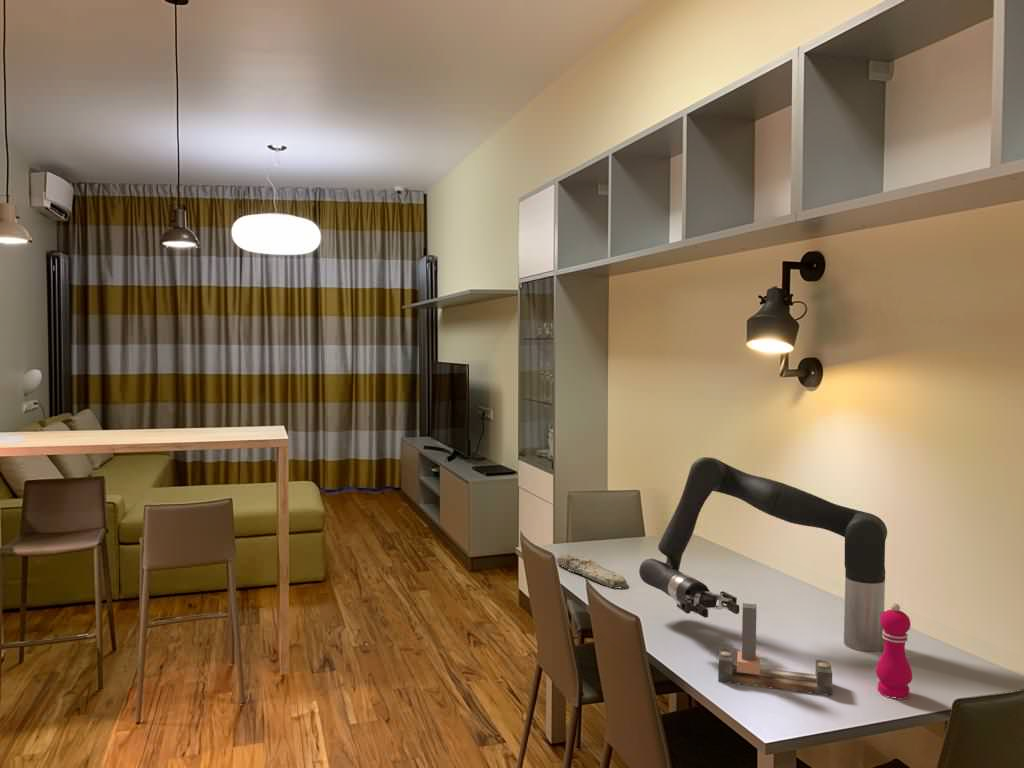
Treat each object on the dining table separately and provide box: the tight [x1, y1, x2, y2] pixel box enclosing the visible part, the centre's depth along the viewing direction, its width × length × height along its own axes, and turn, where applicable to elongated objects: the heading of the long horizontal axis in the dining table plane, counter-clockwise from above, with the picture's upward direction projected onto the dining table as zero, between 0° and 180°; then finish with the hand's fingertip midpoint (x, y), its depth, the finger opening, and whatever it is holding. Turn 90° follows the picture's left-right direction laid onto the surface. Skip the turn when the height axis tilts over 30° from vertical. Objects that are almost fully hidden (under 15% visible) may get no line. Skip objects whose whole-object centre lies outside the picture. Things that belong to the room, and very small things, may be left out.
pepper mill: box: [875, 602, 913, 699], centre depth 174 cm, size 7×7×20 cm
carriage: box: [736, 602, 761, 675], centre depth 181 cm, size 5×6×14 cm
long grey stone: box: [555, 554, 628, 588], centre depth 264 cm, size 35×5×10 cm
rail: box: [717, 648, 833, 696], centre depth 180 cm, size 24×7×5 cm, turn 72°
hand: (722, 611), depth 192 cm, fingers open, 8 cm apart
